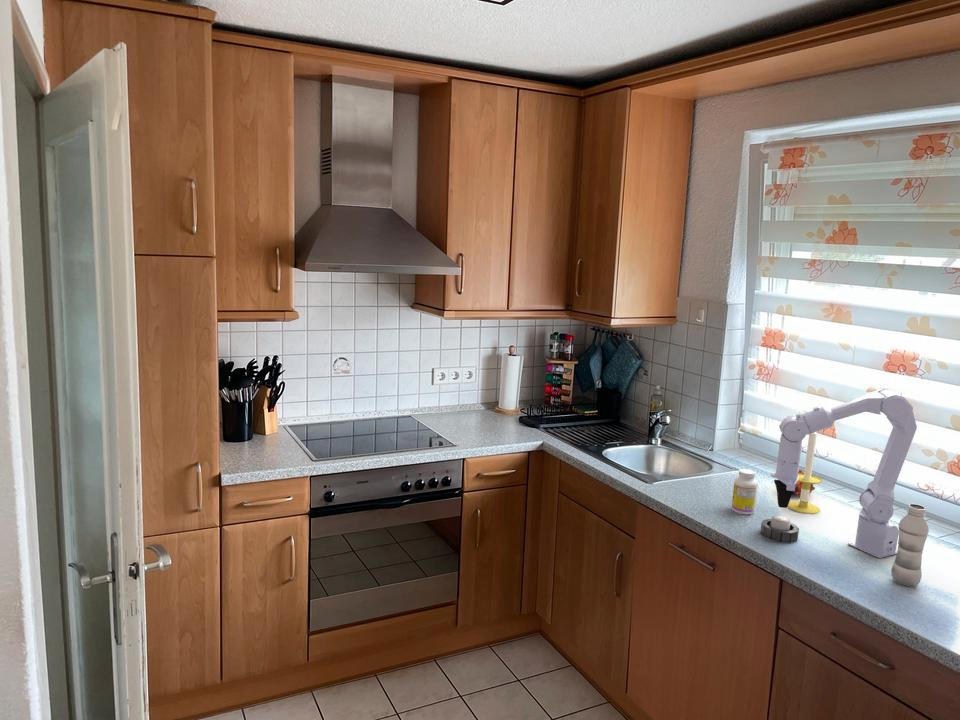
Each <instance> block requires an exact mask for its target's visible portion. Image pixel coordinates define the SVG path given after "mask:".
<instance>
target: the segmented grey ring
mask: <svg viewBox="0 0 960 720" xmlns="http://www.w3.org/2000/svg"><path fill="white" fill-rule="evenodd" d="M770 525H771V518H767V519H763V520H762V521H761V525H760V531H759V532H760V534H761V536H762V537H763V538H765V539H767V538H768V540H770V541H771V542H772V541H773V542H776V543H781V544H792V543H796V542H797V541H798V540H799V533H800V528H799V527H798V525H796V524H794V523H792V522H790V529H789V531H781V530H777V529H774V528H772V527H770Z"/></svg>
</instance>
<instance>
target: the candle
mask: <svg viewBox="0 0 960 720" xmlns="http://www.w3.org/2000/svg"><path fill="white" fill-rule="evenodd" d="M817 435H818V432H815V433H812V434H809V435H808V441H807V447H806V448H807V449H806V454H805V455H806V456H805V464H804V470H803V471H804V472H803V473H804V474H800V473H799V474H798V481H800V482H802V488H801V495H799V496H800V497H799V501H797V500H790V502H789V504H788V507H787V508H788V509H789V510H791V511H793V512H797V513H800V514H806V515H807V514H808V515H815V514H817V513H818V514H819V512H820V513H821V508H820V507H819V506H817V505H815V504H813V503H809V499H810V494H811V493H810V486H811V484H813V485H817V484H821V483H822V482H823V479H821V478H820V477H819V476H815V475H814V474H813V475H812V472H813V465H814V458H815V451H816V450H815V449H816V443H817ZM809 493H810V494H809Z"/></svg>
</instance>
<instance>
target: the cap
mask: <svg viewBox="0 0 960 720" xmlns="http://www.w3.org/2000/svg"><path fill="white" fill-rule="evenodd" d="M770 519H771V525H770V527H772V528H774V529H777V530H781V531H789V529H790V523H792V522H791V519H790V518H788V517H785V516H782V515H772V516H771V518H770Z"/></svg>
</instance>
